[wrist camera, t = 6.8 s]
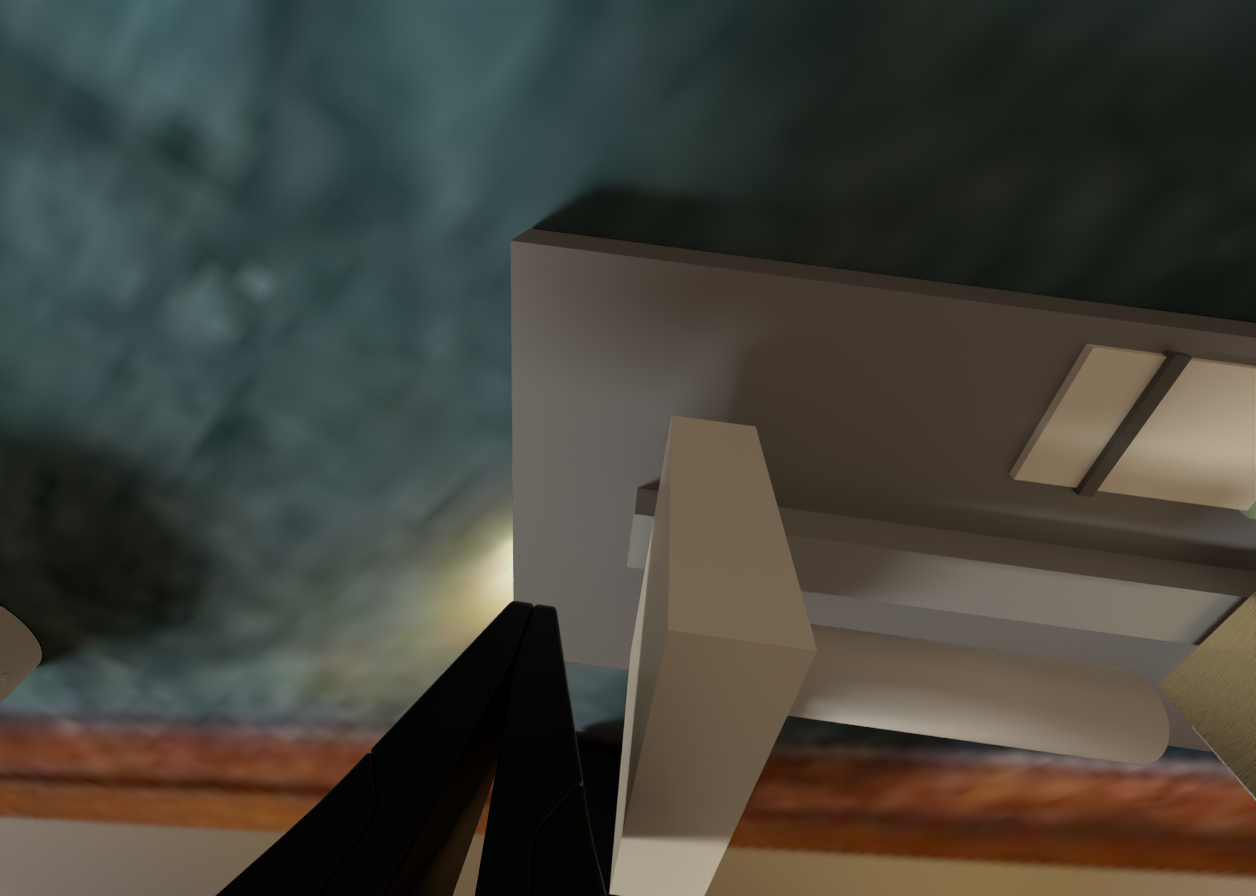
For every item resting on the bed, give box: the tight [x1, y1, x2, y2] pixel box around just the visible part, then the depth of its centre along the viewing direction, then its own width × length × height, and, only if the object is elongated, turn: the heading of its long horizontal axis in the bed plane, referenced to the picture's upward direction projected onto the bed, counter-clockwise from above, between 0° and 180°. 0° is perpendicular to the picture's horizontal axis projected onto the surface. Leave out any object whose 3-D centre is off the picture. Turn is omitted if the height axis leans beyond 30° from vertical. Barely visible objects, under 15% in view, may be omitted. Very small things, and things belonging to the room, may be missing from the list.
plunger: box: [609, 415, 1170, 896], centre depth 9 cm, size 7×9×5 cm
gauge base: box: [511, 229, 1256, 800], centre depth 10 cm, size 12×24×8 cm, turn 84°
